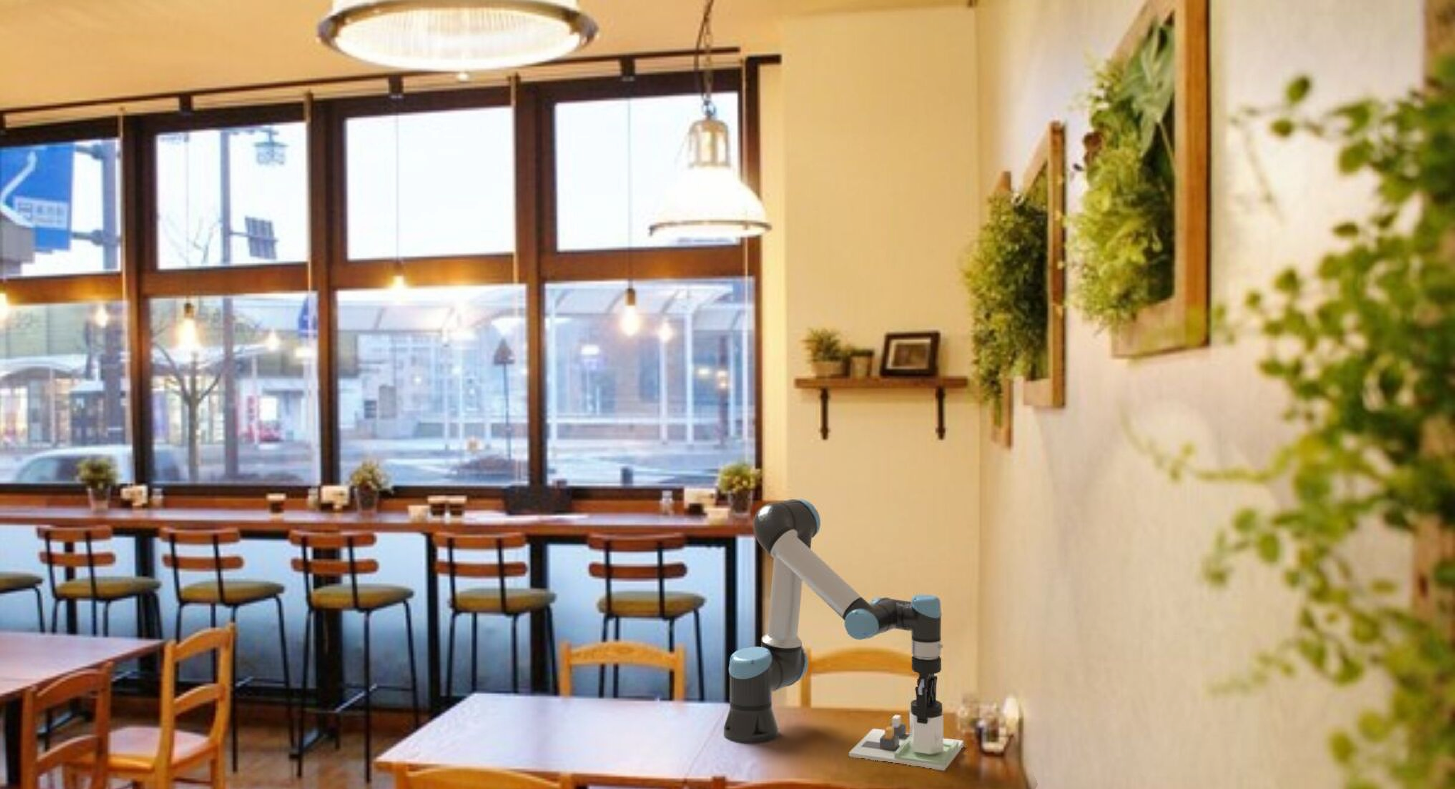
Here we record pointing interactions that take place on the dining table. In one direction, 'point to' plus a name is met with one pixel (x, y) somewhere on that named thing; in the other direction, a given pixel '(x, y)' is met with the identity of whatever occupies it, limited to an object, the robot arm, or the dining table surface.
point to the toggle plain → (898, 726)
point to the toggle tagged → (889, 739)
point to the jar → (927, 729)
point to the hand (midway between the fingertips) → (926, 745)
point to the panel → (905, 751)
